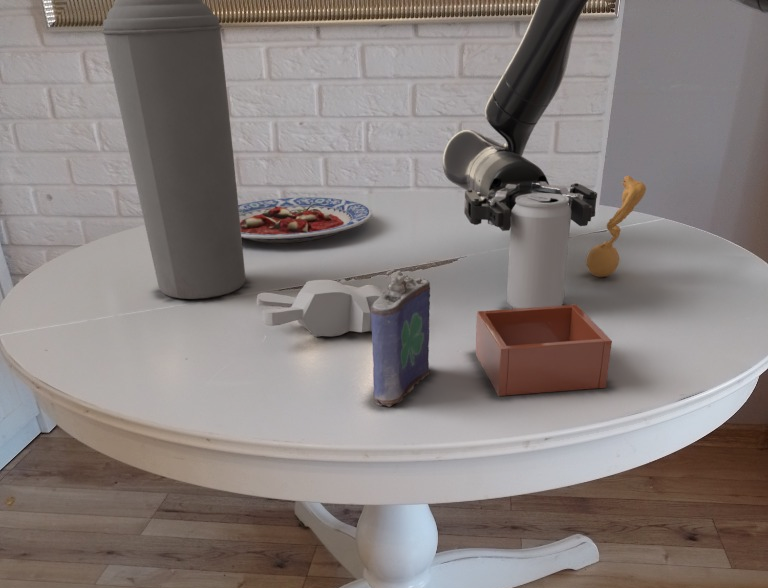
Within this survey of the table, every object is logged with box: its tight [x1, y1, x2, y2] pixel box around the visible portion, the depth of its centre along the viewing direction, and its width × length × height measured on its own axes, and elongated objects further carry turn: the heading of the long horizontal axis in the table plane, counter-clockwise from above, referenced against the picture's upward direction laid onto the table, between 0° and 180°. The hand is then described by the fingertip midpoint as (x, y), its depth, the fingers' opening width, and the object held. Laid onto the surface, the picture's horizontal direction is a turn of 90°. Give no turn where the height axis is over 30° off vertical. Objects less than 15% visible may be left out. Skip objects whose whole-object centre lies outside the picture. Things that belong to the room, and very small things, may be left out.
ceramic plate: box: [238, 196, 373, 244], centre depth 125 cm, size 26×26×3 cm
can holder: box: [475, 304, 613, 397], centre depth 75 cm, size 10×10×4 cm
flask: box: [371, 269, 431, 408], centre depth 71 cm, size 9×3×11 cm, turn 154°
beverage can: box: [506, 193, 572, 309], centre depth 88 cm, size 6×6×12 cm
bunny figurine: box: [256, 279, 385, 338], centre depth 86 cm, size 10×5×15 cm
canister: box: [101, 0, 246, 300], centre depth 92 cm, size 13×13×35 cm
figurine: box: [585, 175, 647, 278], centre depth 96 cm, size 8×6×12 cm
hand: (546, 218), depth 84 cm, fingers open, 8 cm apart
